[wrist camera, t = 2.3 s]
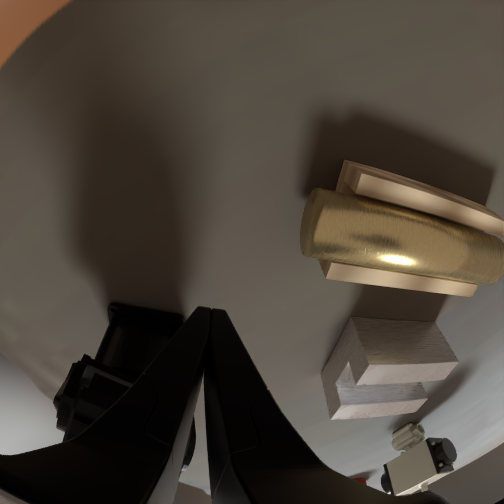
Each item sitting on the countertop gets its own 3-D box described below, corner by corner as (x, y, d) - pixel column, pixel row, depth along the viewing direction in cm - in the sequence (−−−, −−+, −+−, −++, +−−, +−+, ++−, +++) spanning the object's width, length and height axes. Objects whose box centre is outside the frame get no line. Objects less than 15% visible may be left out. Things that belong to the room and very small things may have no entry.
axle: (296, 236, 20) (307, 270, 17) (312, 178, 18) (329, 202, 15) (466, 267, 22) (491, 294, 19) (485, 227, 20) (514, 251, 17)
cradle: (320, 374, 29) (330, 419, 25) (350, 316, 26) (369, 364, 21) (399, 374, 31) (415, 412, 26) (435, 322, 27) (458, 361, 22)
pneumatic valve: (370, 444, 41) (385, 506, 31) (426, 407, 36) (451, 473, 26) (389, 446, 43) (405, 503, 32) (442, 410, 38) (466, 470, 27)
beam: (315, 252, 22) (325, 278, 19) (344, 159, 19) (361, 173, 16) (454, 275, 24) (471, 296, 21) (485, 206, 21) (508, 223, 18)
